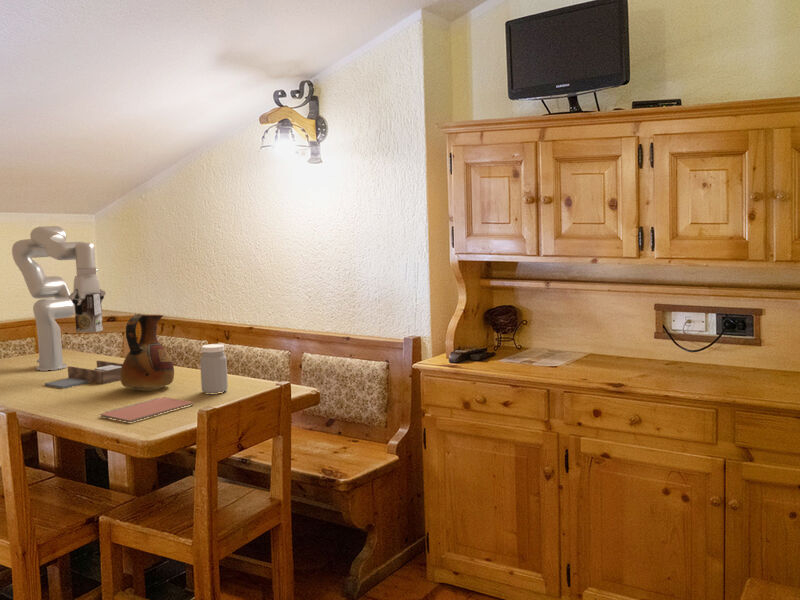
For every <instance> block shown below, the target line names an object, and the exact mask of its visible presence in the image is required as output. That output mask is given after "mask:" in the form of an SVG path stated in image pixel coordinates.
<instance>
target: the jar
mask: <svg viewBox="0 0 800 600" xmlns="http://www.w3.org/2000/svg"><path fill="white" fill-rule="evenodd" d="M224 350H225V345H224V344H222V343H211V344H210V343H209V344H203V345H202V346H201V352H202V353H201V358H200V359H199V360H200V365H199V367H200V380H201V381H200V383H201V385H200V386H201V391H202V393H204V392H205V393H218V392H223V391H225V392H227V390H228V388H229V387H228V386H229V385H228V384H229V383H228V365H227V363H228V362H227V361H228V360H227V359H228V358H227V356H226V354H225V352H224ZM205 393H204V394H205Z"/></svg>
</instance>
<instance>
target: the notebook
mask: <svg viewBox="0 0 800 600" xmlns="http://www.w3.org/2000/svg"><path fill="white" fill-rule="evenodd" d="M191 404H193V405H194V404H195V402H194V401H189V400H184V399H178V398H171V397H167V396H163V397H156V398H153V399H149V400H145V401H142V402H137V403H133V404H129V405H125V406H123V407H122V406H121V407H118V408H115V409H112V410H107V411H105V412H102V413H99V415H100V418H101V417H105V418H104V419H106V418H112V419H116V420H121V421H126V422H134V421H137V420H140V419H144V418H147V417H151V416H154V415H158V414H160V413H164V412H167V411H170V410H174V409H177V408H181V407H184V406H188V405H191Z"/></svg>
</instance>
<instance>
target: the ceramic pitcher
mask: <svg viewBox="0 0 800 600" xmlns="http://www.w3.org/2000/svg"><path fill="white" fill-rule="evenodd" d="M163 317H164V314H141V313H137V314H136V313H135V314H134V315H133V316H132V317H131V318H129V320H128V321H127V323H126V325H125V338H126V341H127V344H128V347H129V352H128V353H127V355H126V356H125V359H124V361H123V362H122V364H123V365H122V368H121V380H120V383H121V385H122V386H123V387H125V388H129V389H132V390H135V391H148V392H149V391H153V392H154V391H157V390H160V389H161V388H164V387H166V386H169V385H171V384H172V383H173V381H174V377H175V367H174V362H173V359H172V357H171V355H170V354H169V352H168V350H167V349H166V347H164V346H163V345H162V344H161V343H160V342H159V341H158V336H157V329H158V323H159V321H160V320H161V319H162V318H163ZM138 322H139V324H140V330H141V331H140V339H139V341H138V339H137V333H136V332H137V331H136V330H137V324H138ZM159 388H160V389H159Z"/></svg>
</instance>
